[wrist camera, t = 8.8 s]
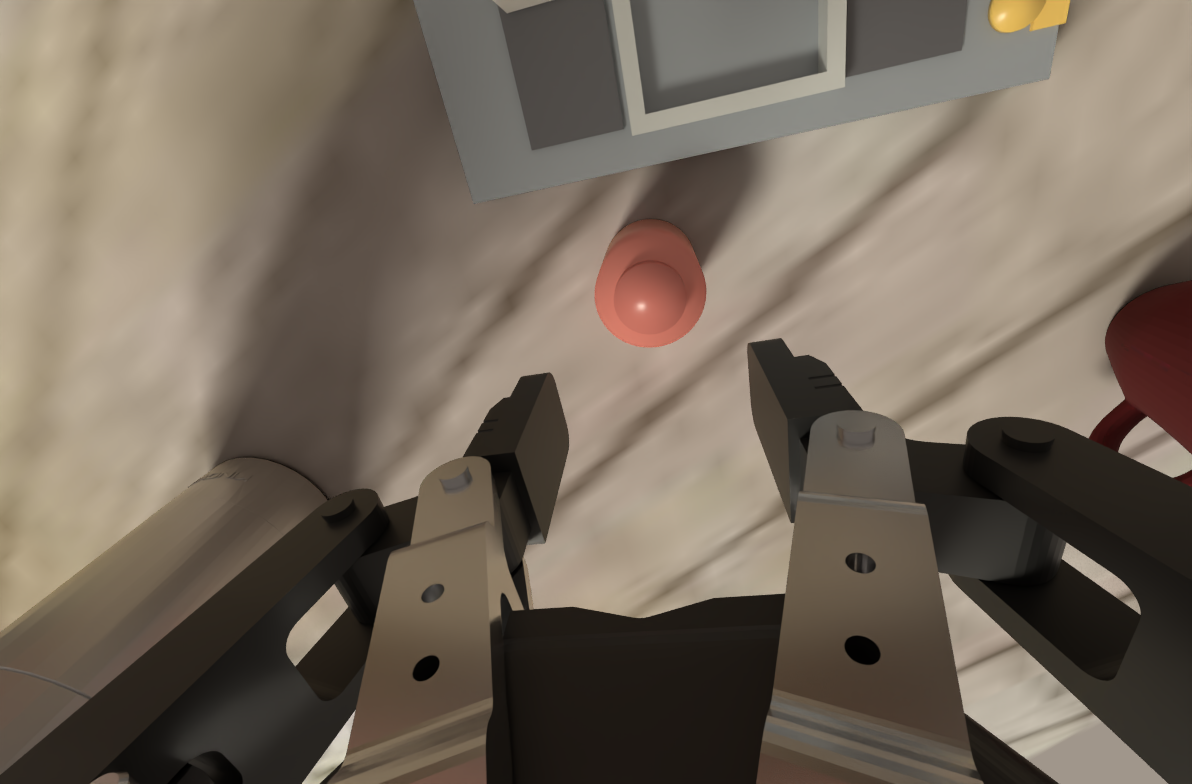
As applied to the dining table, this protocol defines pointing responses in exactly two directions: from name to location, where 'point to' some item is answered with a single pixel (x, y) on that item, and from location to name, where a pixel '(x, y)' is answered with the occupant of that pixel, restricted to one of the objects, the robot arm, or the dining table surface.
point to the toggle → (517, 4)
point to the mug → (1152, 367)
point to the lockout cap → (650, 284)
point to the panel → (704, 74)
